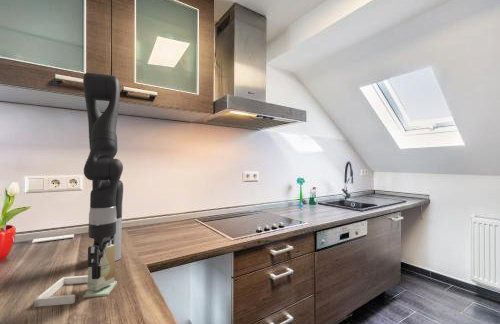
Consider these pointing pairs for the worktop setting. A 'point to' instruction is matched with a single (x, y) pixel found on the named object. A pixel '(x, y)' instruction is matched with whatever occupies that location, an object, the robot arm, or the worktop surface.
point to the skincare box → (103, 270)
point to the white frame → (56, 300)
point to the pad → (100, 291)
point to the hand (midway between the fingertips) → (101, 272)
